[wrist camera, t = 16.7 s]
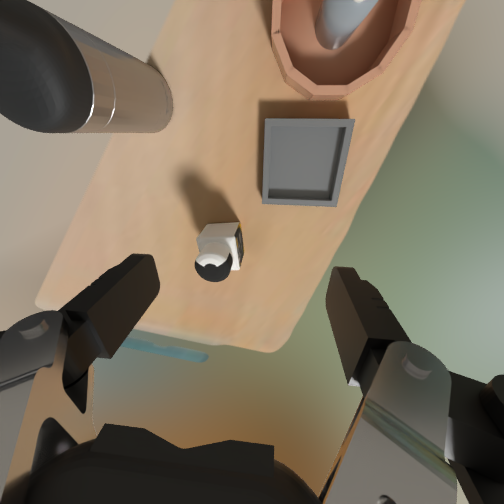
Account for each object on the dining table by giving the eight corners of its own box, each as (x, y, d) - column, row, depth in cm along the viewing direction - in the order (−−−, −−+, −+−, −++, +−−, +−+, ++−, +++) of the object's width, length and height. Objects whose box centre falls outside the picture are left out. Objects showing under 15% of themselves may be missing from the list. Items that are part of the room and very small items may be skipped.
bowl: (269, 100, 32) (268, 95, 28) (277, -69, 24) (277, -112, 20) (378, 100, 31) (395, 94, 27) (423, -79, 23) (456, -127, 19)
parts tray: (262, 200, 40) (262, 203, 38) (265, 119, 34) (265, 118, 32) (333, 202, 39) (336, 206, 37) (349, 119, 33) (355, 119, 30)
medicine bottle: (244, 252, 46) (235, 286, 36) (213, 253, 47) (195, 287, 37) (240, 221, 43) (229, 250, 32) (206, 223, 44) (185, 251, 33)
